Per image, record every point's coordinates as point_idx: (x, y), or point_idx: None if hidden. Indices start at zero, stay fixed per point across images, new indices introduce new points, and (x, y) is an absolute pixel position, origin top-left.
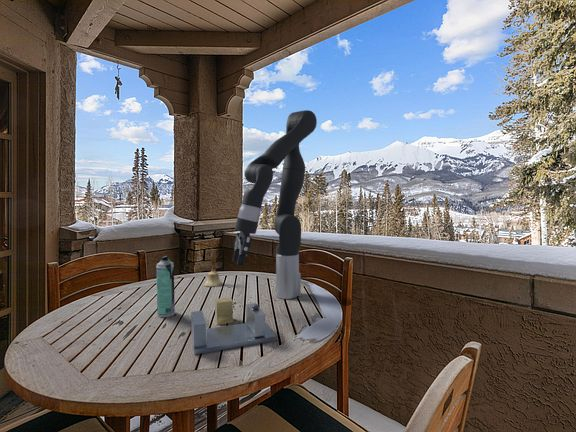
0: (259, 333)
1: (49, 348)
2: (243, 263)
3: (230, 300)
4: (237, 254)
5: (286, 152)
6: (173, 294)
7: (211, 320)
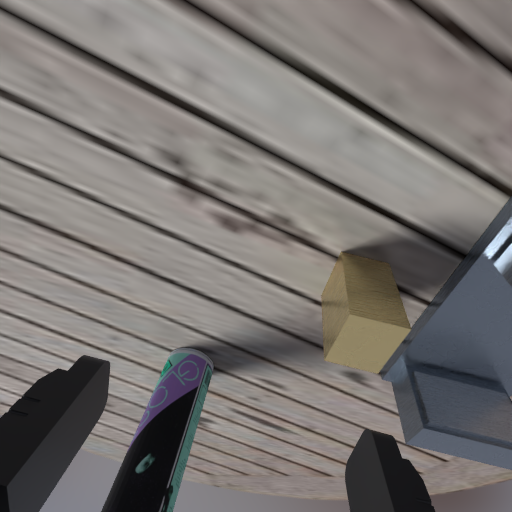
0: None
1: (263, 477)
2: (401, 469)
3: (396, 332)
4: (46, 466)
5: None
6: (183, 412)
7: (316, 304)
